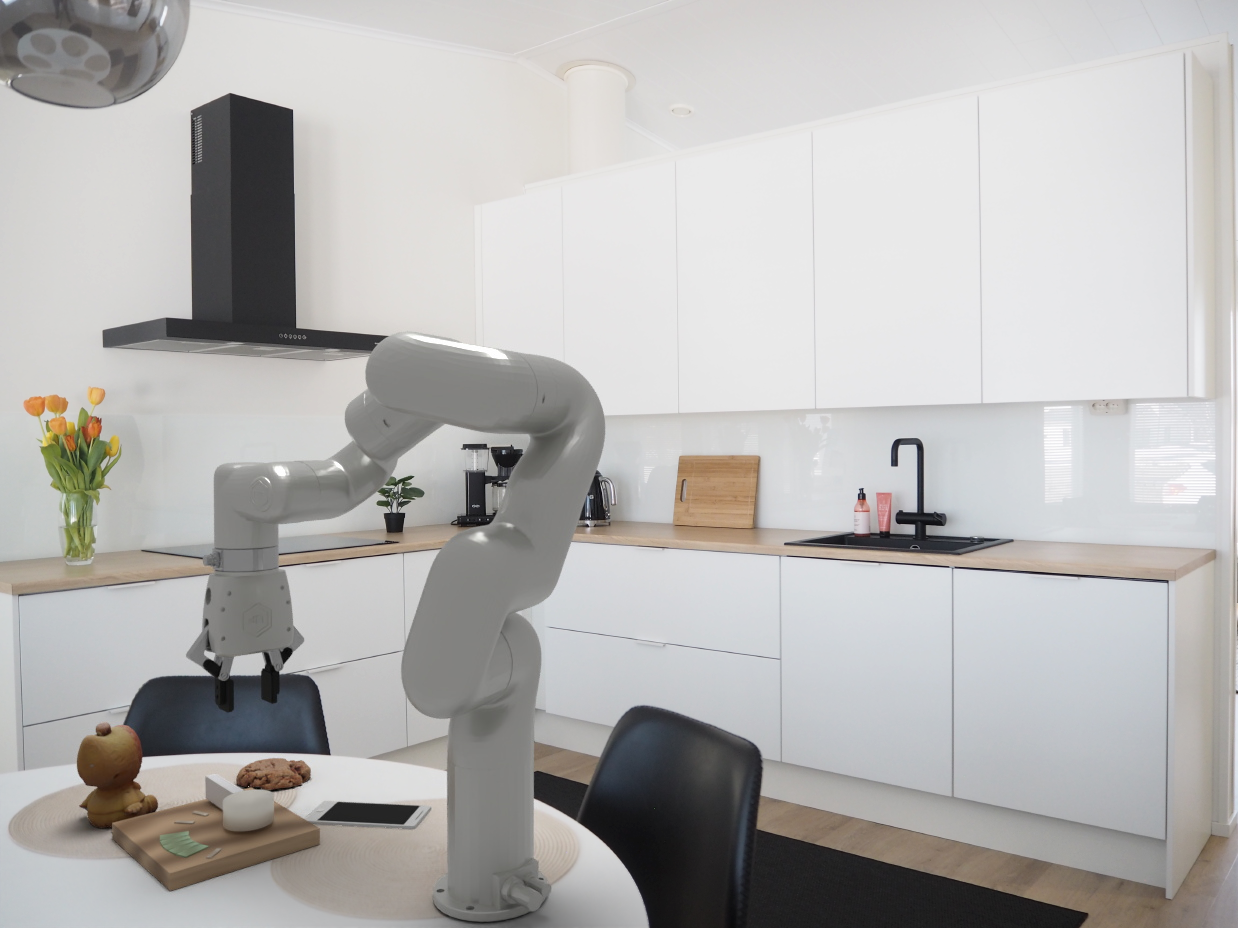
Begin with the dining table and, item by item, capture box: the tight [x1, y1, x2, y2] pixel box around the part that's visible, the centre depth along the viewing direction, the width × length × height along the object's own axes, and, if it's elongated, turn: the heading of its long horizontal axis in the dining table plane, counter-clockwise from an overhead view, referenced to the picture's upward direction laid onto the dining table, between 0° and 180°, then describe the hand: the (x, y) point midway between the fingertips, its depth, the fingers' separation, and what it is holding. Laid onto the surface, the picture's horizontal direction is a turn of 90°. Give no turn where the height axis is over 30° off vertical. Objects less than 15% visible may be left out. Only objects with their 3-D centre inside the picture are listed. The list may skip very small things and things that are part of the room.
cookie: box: [235, 757, 312, 791], centre depth 143 cm, size 10×11×3 cm
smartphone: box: [303, 800, 432, 830], centre depth 129 cm, size 7×15×1 cm, turn 83°
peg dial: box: [204, 773, 275, 831], centre depth 124 cm, size 15×6×3 cm, turn 44°
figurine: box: [76, 721, 159, 829], centre depth 127 cm, size 10×8×15 cm
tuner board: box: [111, 787, 321, 892], centre depth 121 cm, size 20×18×2 cm
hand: (247, 704), depth 120 cm, fingers open, 4 cm apart
